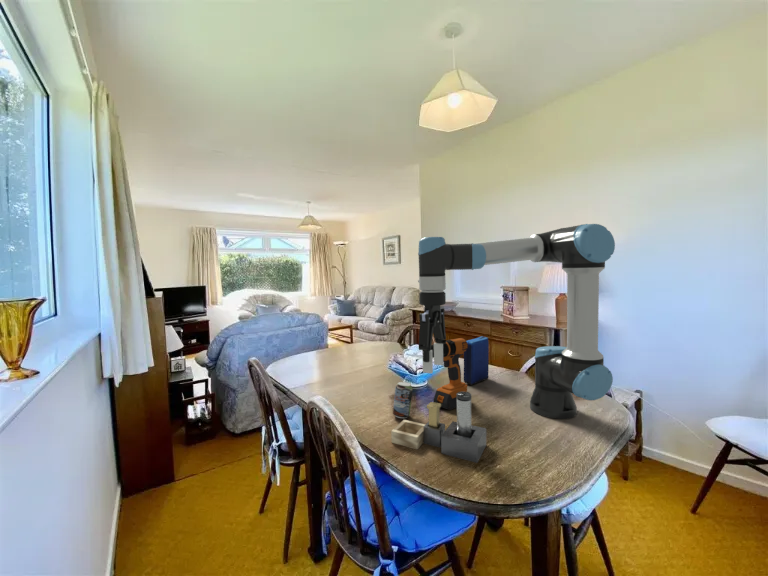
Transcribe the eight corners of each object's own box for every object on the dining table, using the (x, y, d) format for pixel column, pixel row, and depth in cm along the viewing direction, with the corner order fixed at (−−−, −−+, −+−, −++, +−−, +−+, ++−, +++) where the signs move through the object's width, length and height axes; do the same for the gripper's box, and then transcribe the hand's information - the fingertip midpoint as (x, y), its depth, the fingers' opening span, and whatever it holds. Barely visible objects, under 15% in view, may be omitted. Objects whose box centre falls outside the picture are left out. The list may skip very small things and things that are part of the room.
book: (481, 376, 162) (480, 334, 161) (490, 379, 158) (490, 336, 157) (462, 384, 153) (462, 339, 151) (472, 387, 149) (472, 341, 147)
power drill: (435, 417, 120) (434, 347, 119) (420, 410, 126) (419, 343, 124) (473, 400, 134) (472, 337, 132) (458, 395, 140) (457, 335, 138)
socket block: (486, 448, 99) (486, 428, 99) (477, 466, 91) (477, 444, 90) (432, 435, 107) (432, 417, 107) (420, 450, 99) (419, 430, 98)
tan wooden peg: (441, 429, 102) (441, 403, 102) (437, 433, 99) (437, 407, 99) (431, 426, 104) (430, 401, 103) (427, 431, 101) (426, 405, 100)
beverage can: (389, 417, 121) (388, 384, 120) (403, 410, 126) (402, 378, 126) (402, 422, 117) (401, 388, 116) (416, 415, 122) (415, 382, 121)
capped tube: (473, 447, 98) (473, 392, 97) (469, 454, 94) (469, 398, 93) (459, 444, 100) (459, 390, 99) (455, 450, 97) (454, 395, 95)
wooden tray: (428, 439, 105) (428, 425, 105) (417, 452, 98) (417, 437, 98) (404, 433, 109) (403, 419, 109) (391, 445, 102) (391, 431, 102)
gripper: (433, 288, 110) (434, 358, 111) (404, 293, 92) (406, 377, 93) (456, 288, 106) (456, 360, 107) (430, 294, 88) (432, 381, 89)
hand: (433, 368), depth 100 cm, fingers open, 8 cm apart
